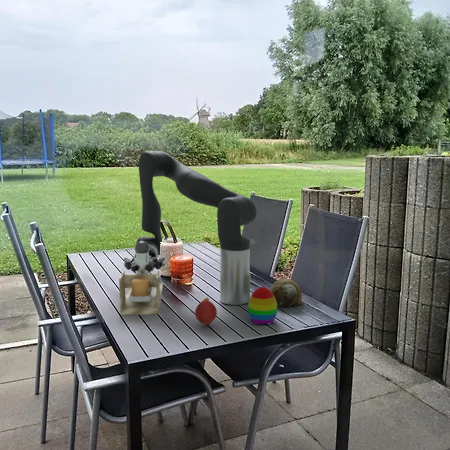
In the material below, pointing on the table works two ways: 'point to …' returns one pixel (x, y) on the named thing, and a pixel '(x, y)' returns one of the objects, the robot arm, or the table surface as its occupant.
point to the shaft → (141, 268)
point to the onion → (206, 312)
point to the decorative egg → (262, 306)
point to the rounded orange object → (140, 287)
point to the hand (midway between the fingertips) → (141, 269)
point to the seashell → (286, 292)
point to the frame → (141, 306)
